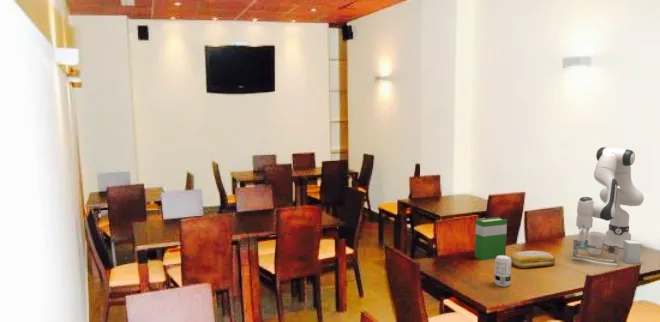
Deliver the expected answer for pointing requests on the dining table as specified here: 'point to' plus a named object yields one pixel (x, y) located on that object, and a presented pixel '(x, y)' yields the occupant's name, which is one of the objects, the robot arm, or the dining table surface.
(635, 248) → the supplement box
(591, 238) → the foam cup
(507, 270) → the supplement can
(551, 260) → the bread
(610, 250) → the rail stand
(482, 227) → the green cereal box
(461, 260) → the dining table surface
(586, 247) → the sleeve
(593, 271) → the dining table surface
